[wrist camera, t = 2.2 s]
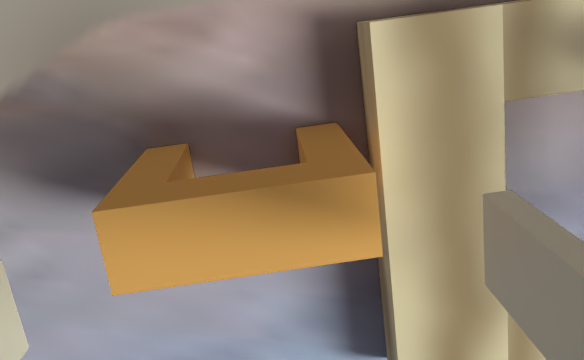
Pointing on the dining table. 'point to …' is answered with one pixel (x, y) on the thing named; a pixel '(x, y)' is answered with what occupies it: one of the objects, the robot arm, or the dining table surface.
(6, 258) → the dining table surface
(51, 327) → the dining table surface
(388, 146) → the beige open frame
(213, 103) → the dining table surface
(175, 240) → the orange u-shaped bracket
